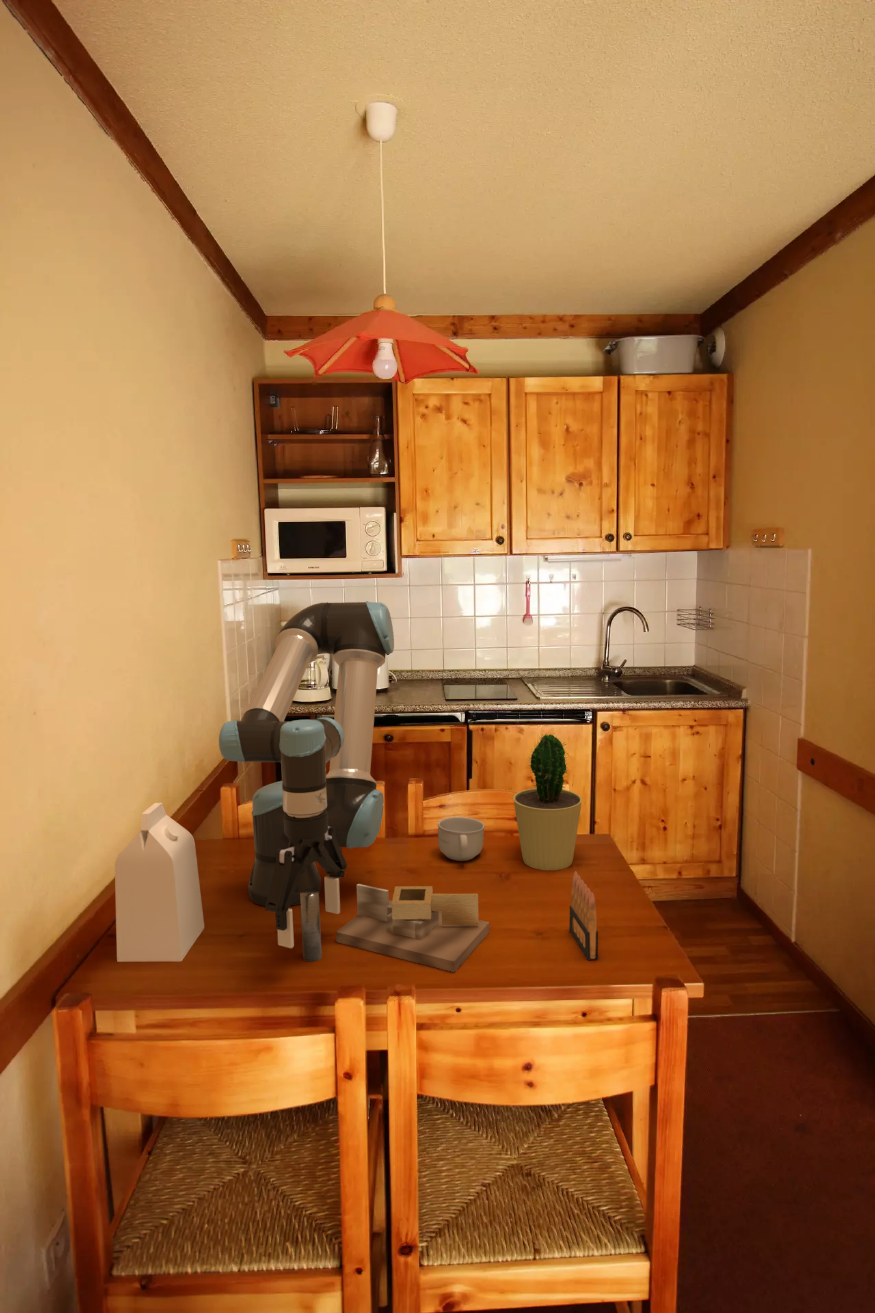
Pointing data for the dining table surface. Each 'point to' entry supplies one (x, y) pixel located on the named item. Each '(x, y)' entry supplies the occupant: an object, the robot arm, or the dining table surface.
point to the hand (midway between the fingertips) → (310, 928)
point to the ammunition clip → (583, 918)
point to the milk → (157, 892)
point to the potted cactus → (547, 810)
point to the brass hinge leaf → (434, 905)
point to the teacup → (460, 837)
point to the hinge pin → (310, 924)
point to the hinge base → (409, 933)
